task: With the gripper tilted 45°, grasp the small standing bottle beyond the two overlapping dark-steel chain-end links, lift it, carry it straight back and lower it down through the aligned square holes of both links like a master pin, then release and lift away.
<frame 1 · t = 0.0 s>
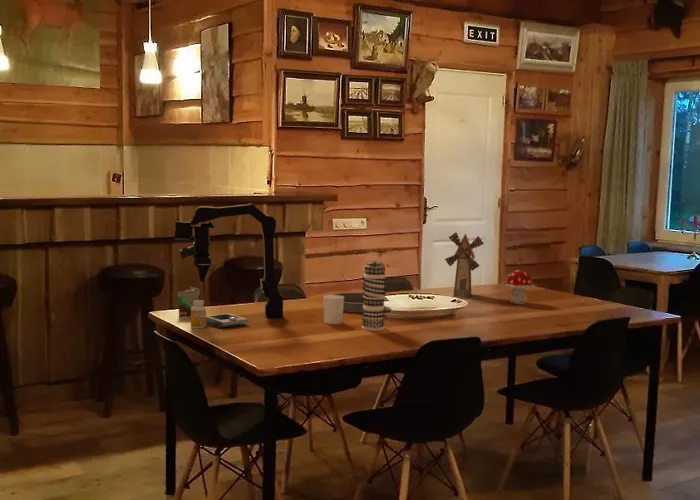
hand: (201, 279, 317), 15 cm above the table, tool pointing down, fingers open, 9 cm apart
decorative candle: (372, 328, 309), on the table
food container: (191, 315, 324), on the table
decorative mushroom: (517, 303, 370), on the table
windmill: (462, 296, 385), on the table
white cup: (333, 323, 316), on the table
cake pan: (356, 308, 349), on the table
chain ends: (223, 323, 309), on the table
supplement bottle: (198, 327, 302), on the table
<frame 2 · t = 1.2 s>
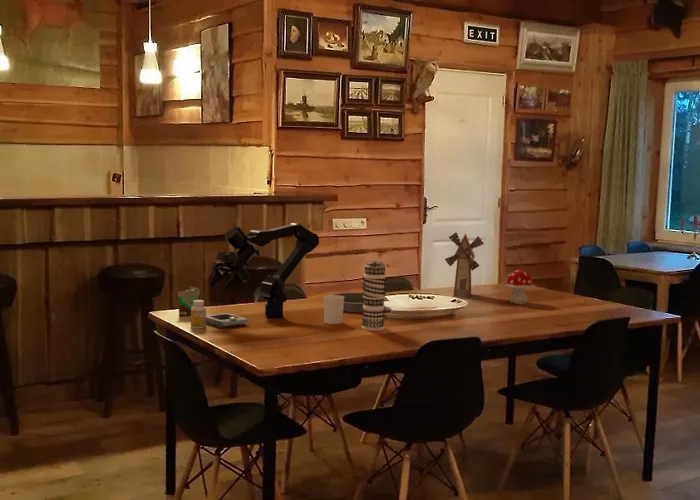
hand: (216, 288, 305), 13 cm above the table, tool tilted 45°, fingers open, 9 cm apart
nothing on the table moved.
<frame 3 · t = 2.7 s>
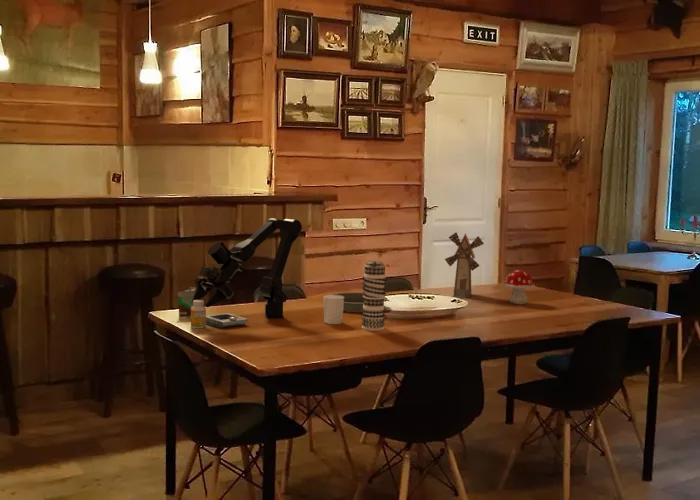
hand: (199, 304, 301), 8 cm above the table, tool tilted 45°, fingers open, 9 cm apart
nothing on the table moved.
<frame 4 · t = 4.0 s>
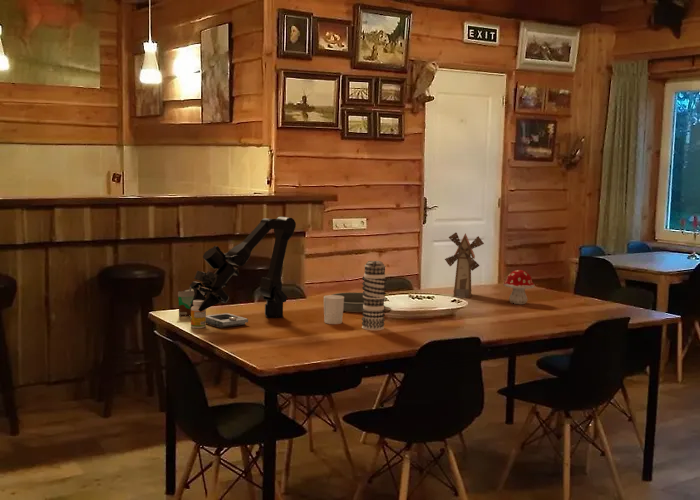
hand: (195, 309, 300), 7 cm above the table, tool tilted 45°, fingers closed on supplement bottle, 5 cm apart
supplement bottle: (198, 327, 302), on the table, touching gripper
everything else where it was.
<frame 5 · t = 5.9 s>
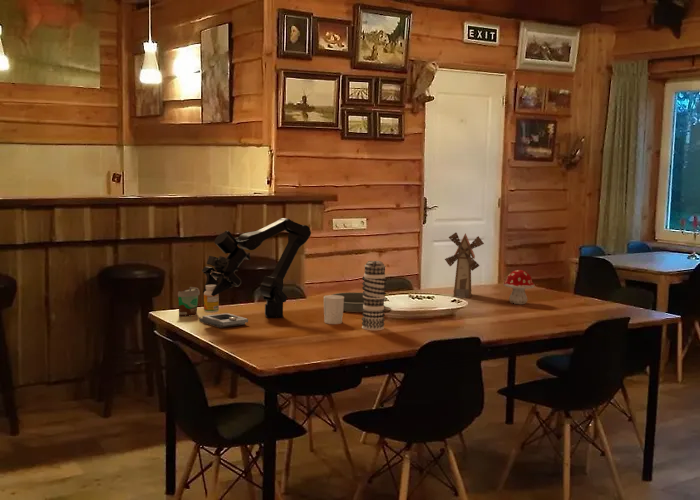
hand: (208, 294, 303), 12 cm above the table, tool tilted 45°, fingers closed on supplement bottle, 5 cm apart
supplement bottle: (211, 311, 305), point 5 cm above the table, touching gripper
everything else where it was.
when the fingers open (7 cm above the table, at t = 8.0 s): supplement bottle stays where it is, resting in chain ends.
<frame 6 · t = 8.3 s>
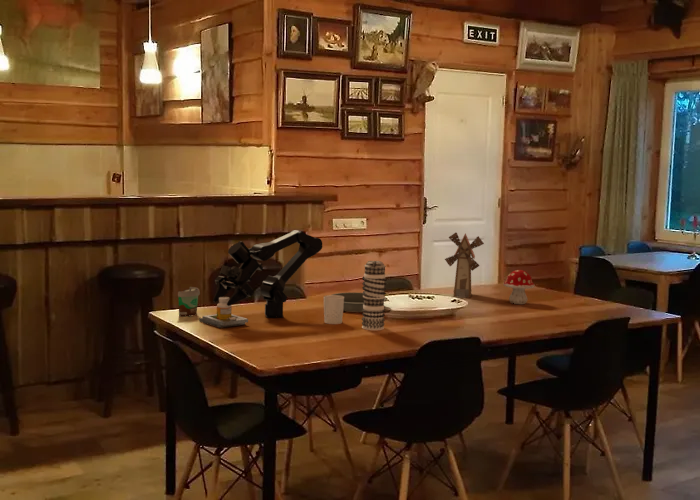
hand: (220, 303, 307), 8 cm above the table, tool tilted 45°, fingers open, 9 cm apart
supplement bottle: (224, 323, 309), resting in chain ends
everything else where it was.
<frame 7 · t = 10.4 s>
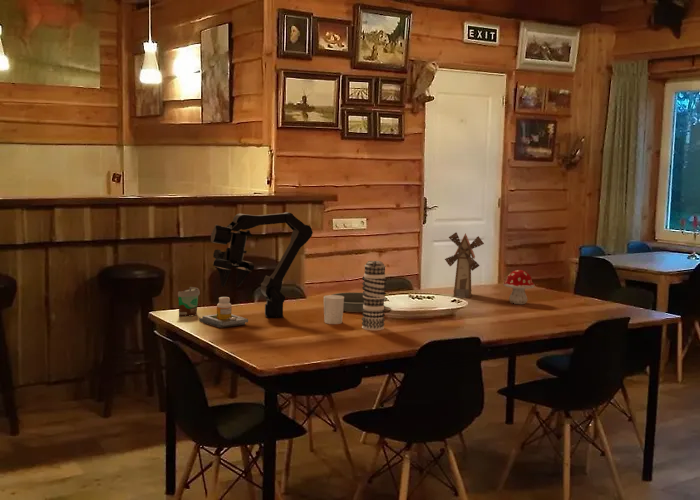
hand: (230, 286, 316), 13 cm above the table, tool pointing down, fingers open, 9 cm apart
nothing on the table moved.
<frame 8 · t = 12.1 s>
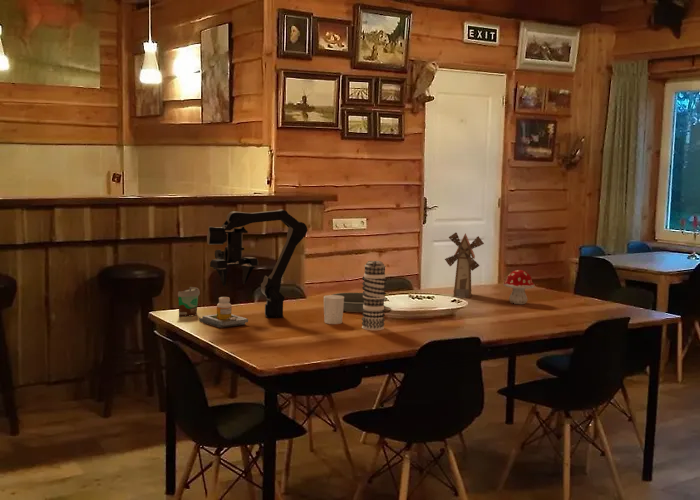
hand: (234, 284, 318), 13 cm above the table, tool pointing down, fingers open, 9 cm apart
nothing on the table moved.
at the end: supplement bottle 0.2 cm off-centre on the chain ends, point 0.0 cm above the chain ends's base; supplement bottle tilted 0°; the gripper is holding nothing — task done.
